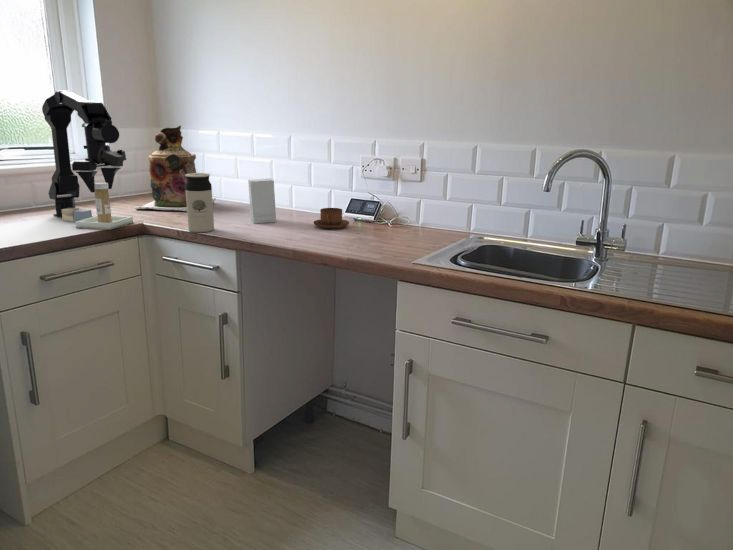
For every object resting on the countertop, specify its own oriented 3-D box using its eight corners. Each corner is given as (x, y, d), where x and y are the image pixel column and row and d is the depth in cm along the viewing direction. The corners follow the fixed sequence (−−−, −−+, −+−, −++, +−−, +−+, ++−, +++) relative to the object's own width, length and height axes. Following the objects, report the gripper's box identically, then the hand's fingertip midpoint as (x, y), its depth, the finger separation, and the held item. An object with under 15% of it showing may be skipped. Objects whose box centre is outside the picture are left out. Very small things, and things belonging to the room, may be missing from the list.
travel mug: (193, 227, 187) (189, 172, 182) (217, 228, 187) (213, 173, 182) (185, 232, 179) (180, 175, 175) (210, 233, 179) (206, 175, 174)
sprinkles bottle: (113, 223, 189) (109, 183, 186) (99, 224, 187) (94, 184, 183) (110, 221, 193) (106, 181, 189) (96, 222, 190) (91, 182, 187)
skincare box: (273, 219, 203) (271, 178, 199) (276, 222, 198) (275, 179, 193) (249, 221, 200) (247, 178, 196) (252, 224, 195) (250, 180, 191)
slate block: (82, 220, 198) (80, 209, 197) (92, 221, 197) (91, 209, 196) (74, 222, 194) (73, 211, 193) (85, 223, 193) (83, 211, 192)
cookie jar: (163, 201, 242) (156, 124, 233) (217, 203, 239) (213, 125, 230) (132, 210, 219) (123, 125, 210) (192, 212, 216) (186, 126, 207)
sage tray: (100, 220, 197) (99, 215, 196) (133, 222, 195) (132, 216, 194) (76, 227, 185) (75, 221, 184) (111, 229, 183) (110, 223, 182)
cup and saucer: (351, 230, 186) (351, 212, 185) (315, 231, 184) (314, 212, 183) (346, 223, 198) (346, 206, 196) (312, 224, 196) (312, 206, 194)
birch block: (70, 218, 201) (69, 207, 199) (80, 219, 200) (79, 208, 199) (62, 220, 197) (61, 209, 196) (73, 221, 196) (71, 209, 195)
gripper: (100, 143, 172) (106, 195, 176) (134, 141, 190) (139, 188, 194) (67, 143, 174) (74, 194, 178) (104, 140, 192) (110, 187, 196)
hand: (101, 190), depth 187 cm, fingers open, 9 cm apart
